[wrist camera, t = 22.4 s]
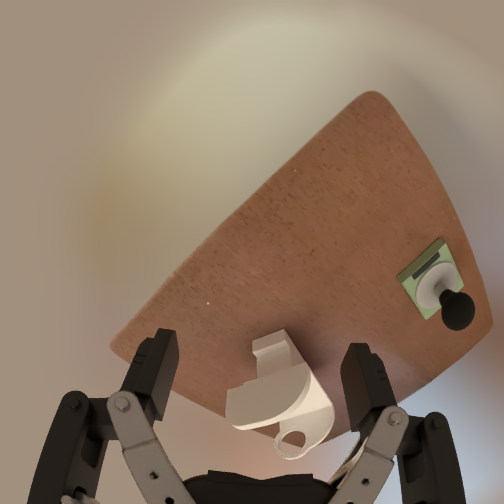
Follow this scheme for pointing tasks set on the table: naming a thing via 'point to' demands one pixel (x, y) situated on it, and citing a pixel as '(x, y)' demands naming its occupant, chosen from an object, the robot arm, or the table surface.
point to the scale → (430, 277)
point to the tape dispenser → (281, 395)
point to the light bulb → (455, 308)
